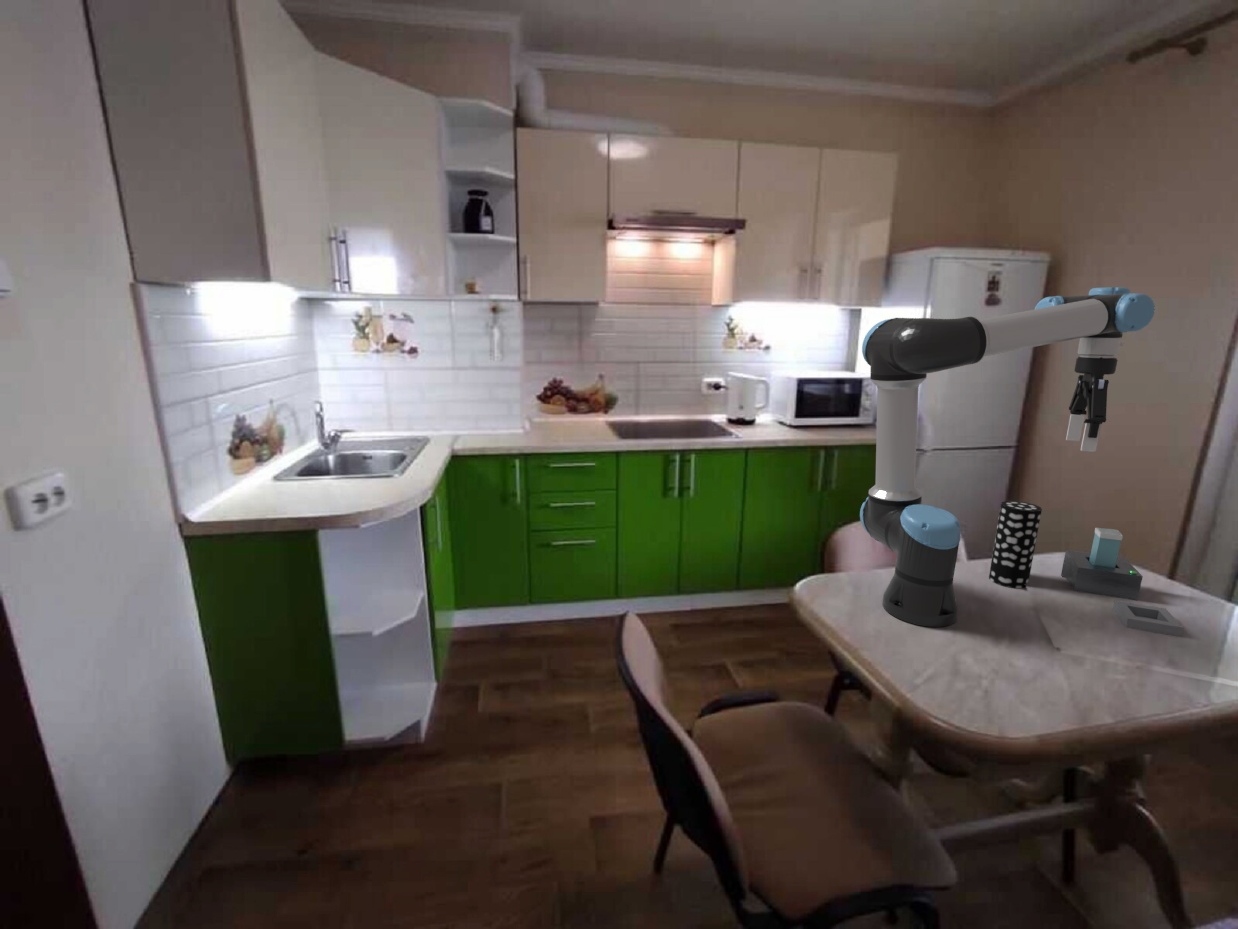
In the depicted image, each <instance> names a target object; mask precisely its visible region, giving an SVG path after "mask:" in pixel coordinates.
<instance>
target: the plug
mask: <svg viewBox="0 0 1238 929" xmlns="http://www.w3.org/2000/svg"><path fill="white" fill-rule="evenodd" d="M1123 536H1124V535H1122V533H1121V532H1120V531H1119V530H1118V529H1112V528H1103V527H1102V528H1101V527H1095V528H1094V537H1093V540H1092V546H1091V551H1090V553H1091V555H1090V559H1089V562H1090V563H1091V565H1097V566H1104V567H1111V568H1115V566H1116V562H1117V557H1119V551H1120V547H1121V544H1122V540H1123Z"/></svg>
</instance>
